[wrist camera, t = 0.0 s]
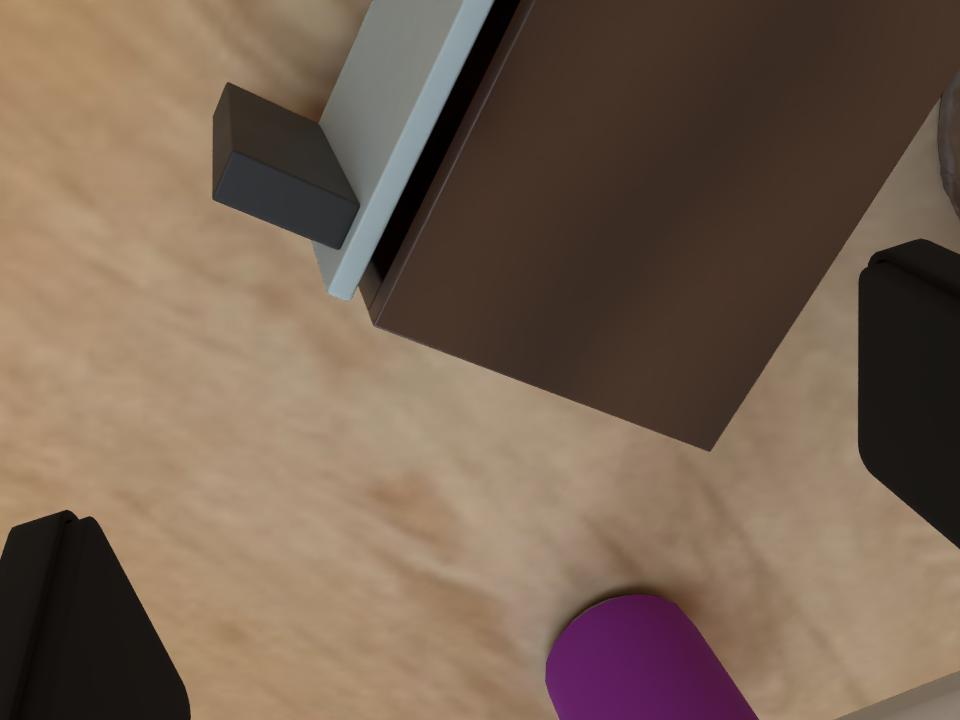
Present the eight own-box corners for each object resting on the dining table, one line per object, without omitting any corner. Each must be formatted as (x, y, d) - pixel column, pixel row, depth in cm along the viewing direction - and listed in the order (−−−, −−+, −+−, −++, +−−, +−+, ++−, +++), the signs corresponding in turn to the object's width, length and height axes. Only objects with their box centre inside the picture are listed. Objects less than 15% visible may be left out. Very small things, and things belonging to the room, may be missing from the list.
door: (201, 142, 28) (195, 244, 19) (304, -116, 25) (352, -133, 17) (310, 188, 29) (350, 303, 20) (416, -52, 27) (512, -36, 18)
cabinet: (318, 185, 30) (372, 326, 20) (543, -318, 26) (768, -476, 15) (560, 290, 34) (710, 452, 24) (791, -127, 30) (1100, -150, 19)
